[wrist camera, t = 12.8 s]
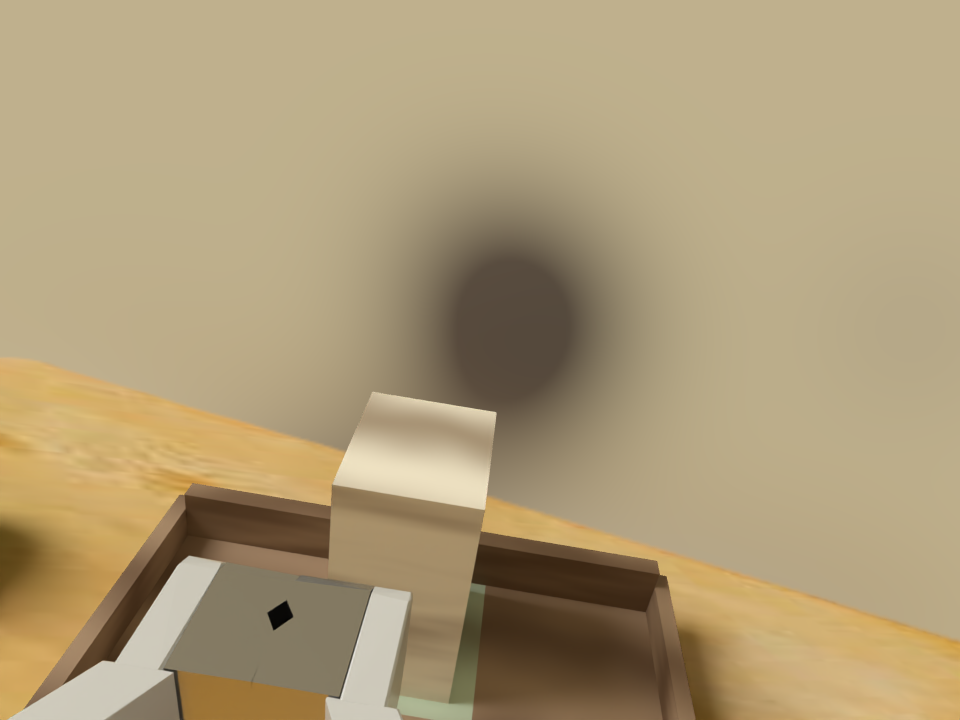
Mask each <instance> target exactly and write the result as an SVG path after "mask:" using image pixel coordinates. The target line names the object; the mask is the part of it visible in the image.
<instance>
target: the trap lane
mask: <svg viewBox="0 0 960 720" xmlns="http://www.w3.org/2000/svg"><path fill="white" fill-rule="evenodd" d="M330 520H331V506H326V505H320V504H314V503H308V502H302V501H296V500H290V499H284V498H278V497H272V496H266V495H260V494H254V493H248V492H242V491H236V490H230V489H224V488H218V487H212V486H206V485H200V484H194V483H192V485H191V486H190V488H189V489H188V490H187V492H186V493H185V495H179V497H178V498H177V499H176V501H175V502H174V503H173V505H172V506H171V508H170V509H169V510H168V512H167V513H166V514H165V516H164V517H163V519H162V520H161V521H160V523H159V524H158V525H157V527H156V528H155V530H154V531H153V532H152V534H151V535H150V536H149V538H148V539H147V541H146V542H145V543H144V545H143V546H142V547H141V549H140V550H139V551H138V553H137V554H136V556H135V557H134V558H133V560H132V561H131V562H130V564H129V565H128V567H127V568H126V569H125V571H124V572H123V573H122V575H121V576H120V578H119V579H118V580H117V582H116V583H115V584H114V586H113V587H112V589H111V590H110V591H109V593H108V594H107V595H106V597H105V598H104V600H103V601H102V602H101V604H100V605H99V606H98V608H97V609H96V611H95V612H94V613H93V615H92V616H91V617H90V619H89V620H88V622H87V623H86V624H85V626H84V627H83V628H82V630H81V631H80V632H79V634H78V635H77V637H76V638H75V639H74V641H73V642H72V643H71V645H70V646H69V648H68V649H67V650H66V652H65V653H64V654H63V656H62V657H61V659H60V660H59V661H58V663H57V664H56V665H55V667H54V668H53V670H52V671H51V672H50V674H49V675H48V676H47V678H46V679H45V681H44V682H43V683H42V685H41V686H40V687H39V689H38V690H37V692H36V693H35V694H34V696H33V697H32V698H31V700H30V701H29V703H28V704H27V705H26V707H25V708H27V707H29V706H30V705H32V704H33V703H35V702H37V701H38V700H40V699H41V698H43V697H45V696H46V695H48V694H50V693H51V692H53V691H54V690H56V689H58V688H59V687H61V686H63V685H64V684H66V683H67V682H69V681H71V680H72V679H74V678H75V677H77V676H79V675H80V674H82V673H84V672H85V671H87V670H88V669H90V668H92V667H93V666H95V665H96V664H98V663H100V662H101V661H111V662H115V661H116V660H117V658H118V657H119V655H120V654H121V652H122V651H123V649H124V648H125V646H126V644H127V643H128V641H129V640H130V638H131V637H132V635H133V634H134V632H135V631H136V629H137V627H138V626H139V624H140V623H141V621H142V620H143V618H144V617H145V615H146V613H147V612H148V610H149V609H150V607H151V606H152V604H153V603H154V601H155V600H156V598H157V596H158V595H159V593H160V592H161V590H162V589H163V587H164V586H165V584H166V582H167V581H168V579H169V578H170V576H171V575H172V573H173V572H174V570H175V569H176V567H177V565H178V564H180V563H181V562H182V561H183V560H184V559H186V558H187V557H188V556H193V557H199V558H204V559H210V560H215V561H221V562H229V563H234V564H239V565H244V566H250V567H255V568H260V569H266V570H271V571H276V572H281V573H287V574H292V575H297V576H301V575H305V576H311V577H318V578H325V579H328V564H329V542H330ZM25 708H24V709H25ZM24 709H23V710H24ZM397 709H399V710H400V713H401V716H402V718H403V720H696V719H695V714H694V709H693V704H692V699H691V694H690V689H689V684H688V679H687V674H686V670H685V665H684V660H683V655H682V650H681V645H680V640H679V635H678V630H677V626H676V621H675V616H674V611H673V606H672V601H671V596H670V591H669V586H668V581H667V577H666V576H662V575H660V573H659V568H658V563H657V561H654V560H648V559H642V558H636V557H630V556H624V555H618V554H612V553H606V552H600V551H594V550H588V549H582V548H576V547H570V546H564V545H558V544H552V543H546V542H540V541H534V540H528V539H522V538H516V537H510V536H504V535H498V534H493V533H487V532H481V533H480V538H479V544H478V549H477V554H476V560H475V565H474V570H473V576H472V581H471V586H470V592H469V597H468V602H467V608H466V613H465V618H464V624H463V629H462V634H461V640H460V645H459V650H458V656H457V661H456V666H455V672H454V677H453V682H452V688H451V693H450V698H449V704H446V703H440V702H434V701H429V700H423V699H417V698H411V697H405V696H399V700H398V705H397Z"/></svg>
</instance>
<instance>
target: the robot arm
mask: <svg viewBox="0 0 960 720" xmlns="http://www.w3.org/2000/svg"><path fill="white" fill-rule="evenodd" d="M412 602H413V593H412V592H406V591H400V590H394V589H388V588H381V587H375V586H372V585H365V584H358V583H352V582H345V581H338V580H332V579H325V578H318V577H311V576H305V575H301V576H297V575H292V574H287V573H281V572H276V571H271V570H266V569H260V568H255V567H250V566H244V565H239V564H234V563H229V562H221V561H215V560H210V559H204V558H199V557H193V556H188V557H187V558H186V559H184V560H183V561H182V562H181V563H180V564H178V565H177V567H176V569H175V570H174V572H173V573H172V575H171V576H170V578H169V579H168V581H167V582H166V584H165V586H164V587H163V589H162V590H161V592H160V593H159V595H158V596H157V598H156V600H155V601H154V603H153V604H152V606H151V607H150V609H149V610H148V612H147V613H146V615H145V617H144V618H143V620H142V621H141V623H140V624H139V626H138V627H137V629H136V631H135V632H134V634H133V635H132V637H131V638H130V640H129V641H128V643H127V644H126V646H125V648H124V649H123V651H122V652H121V654H120V655H119V657H118V658H117V660H116V661H115V662H111V661H101V662H100V663H98V664H96V665H95V666H93V667H92V668H90V669H88V670H87V671H85V672H84V673H82V674H80V675H79V676H77V677H75V678H74V679H72V680H71V681H69V682H67V683H66V684H64V685H63V686H61V687H59V688H58V689H56V690H54V691H53V692H51V693H50V694H48V695H46V696H45V697H43V698H41V699H40V700H38V701H37V702H35V703H33V704H32V705H30V706H29V707H27V708H25V709H24V710H22V711H20V712H19V713H17V714H16V715H14V716H12V717H11V718H9V719H8V720H403V718H402V716H401V713H400V710H399V709H397V705H398V700H399V696H400V690H401V684H402V677H403V671H404V664H405V658H406V651H407V643H408V635H409V627H410V619H411V611H412Z"/></svg>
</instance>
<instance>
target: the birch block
mask: <svg viewBox="0 0 960 720" xmlns="http://www.w3.org/2000/svg"><path fill="white" fill-rule="evenodd" d="M495 420H496V413H495V412H491V411H485V410H479V409H473V408H466V407H460V406H454V405H448V404H443V403H436V402H430V401H424V400H418V399H412V398H406V397H400V396H394V395H388V394H382V393H376V392H372V394H371V396H370V399H369V401H368V403H367V405H366V408H365V410H364V412H363V415H362V417H361V419H360V422H359V424H358V426H357V429H356V431H355V433H354V436H353V438H352V440H351V442H350V445H349V447H348V449H347V451H346V454H345V456H344V458H343V461H342V463H341V465H340V468H339V470H338V472H337V474H336V477H335V479H334V481H333V484H332V498H331V520H330V542H329V564H328V579H332V580H338V581H345V582H352V583H358V584H365V585H372V586H375V587H381V588H388V589H394V590H400V591H406V592H412V593H413V602H412V611H411V619H410V627H409V635H408V643H407V651H406V658H405V664H404V671H403V677H402V684H401V690H400V696H405V697H411V698H417V699H423V700H429V701H434V702H440V703H446V704H449V698H450V693H451V688H452V682H453V677H454V672H455V666H456V661H457V656H458V650H459V645H460V640H461V634H462V629H463V624H464V618H465V613H466V608H467V602H468V597H469V592H470V586H471V581H472V576H473V570H474V565H475V560H476V554H477V549H478V544H479V538H480V533H481V528H482V522H483V517H484V512H485V504H486V496H487V487H488V479H489V471H490V462H491V454H492V444H493V437H494V429H495Z"/></svg>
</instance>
